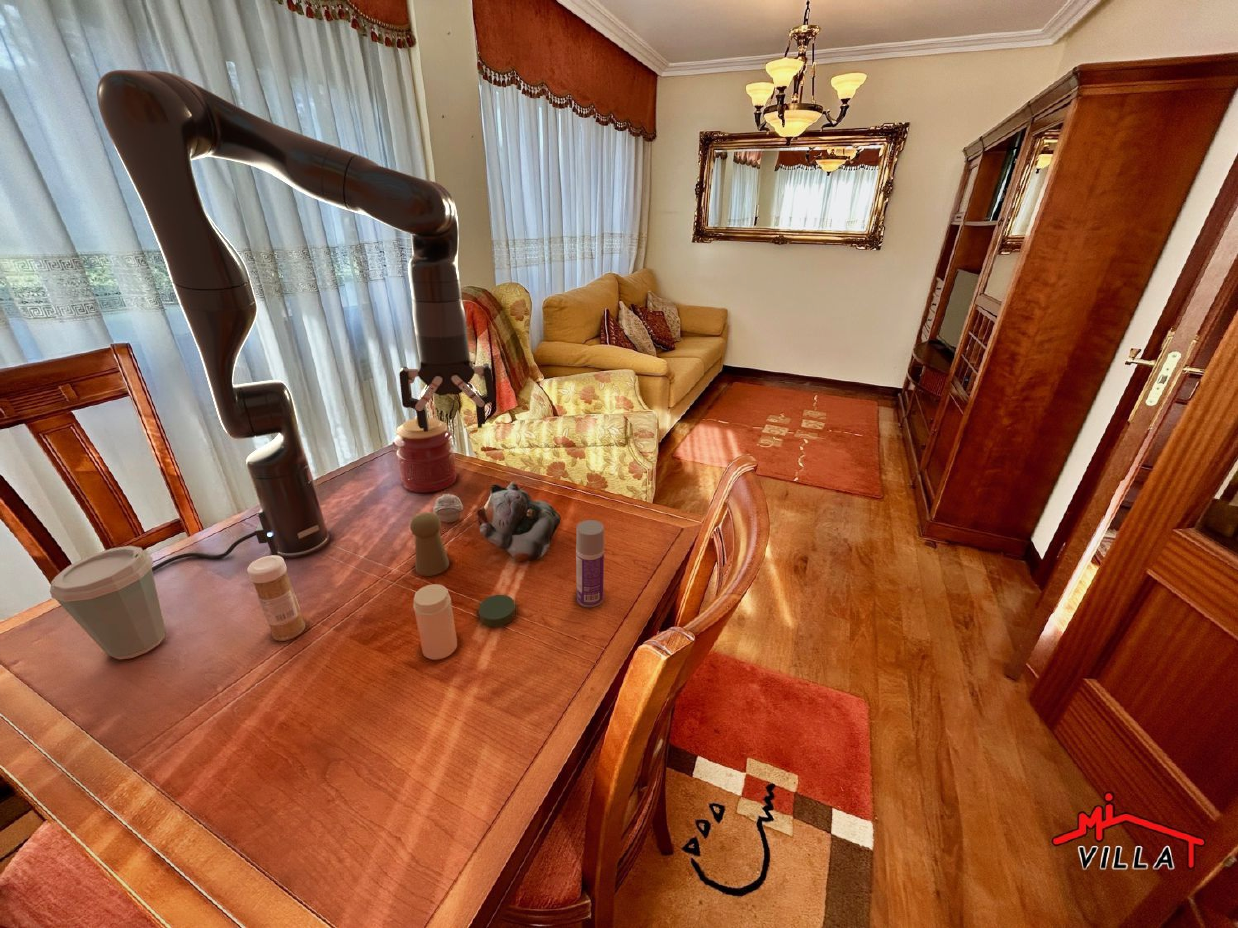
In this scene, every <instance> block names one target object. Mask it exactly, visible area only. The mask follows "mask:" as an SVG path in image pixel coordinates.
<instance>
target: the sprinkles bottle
mask: <svg viewBox="0 0 1238 928" xmlns="http://www.w3.org/2000/svg"><path fill="white" fill-rule="evenodd" d="M287 569H288V568H287V565H286V562H285V560H284V557H280V556H276V555H272V554H271V555H265V556H262V557H260V558H257V559H255V560H254V561H252V562H251V563H249V565H248V566H247V575H248V577H249V580H250V581H251V583H252V584H253V586H254V589H255V591H256V594H257V597H258V601H259V603H260V605H261V608H262V611H263V614H264V616H265V619H266V621H267V623H268V625H269V628H270V631H271V635H272V638H273V639H274V640H275V641H280V642H286V641H289V640H291V639H295V638H296V637H298V636H299V635H301V634H302V633H303V631H304V630H305V628H306V622H305V620H304V619H303V616H302V612H301V608H300V605H299V602H298V599H297V596H296V594H295V592H294V589H293V586H292V583H291V581H290V578H289V576H288V575H289V574H288V571H287Z"/></svg>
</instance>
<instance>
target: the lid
mask: <svg viewBox="0 0 1238 928" xmlns="http://www.w3.org/2000/svg"><path fill="white" fill-rule="evenodd" d="M515 602H516V601H514V599H513V598H512V597H511V596H509V595H507V594H493V595H490V596H488V597H485V598H484V599H483V600H482V601H481V602H480V604H479V605H478V618H479V621H480V622H481V623H482V624H483V625H484V626H486V627H489V628H499V627H503V626H506V625H507V624H509V623H510V622H511V621H513V619H515V616H516V614H517V611H516V603H515Z"/></svg>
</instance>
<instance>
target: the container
mask: <svg viewBox="0 0 1238 928" xmlns="http://www.w3.org/2000/svg"><path fill="white" fill-rule="evenodd" d="M575 542H576V543H575V544H576V545H575V567H576V568H575V570H576V571H575V573H576V574H575V575H576V577H575V578H576V579H575V581H576V602H577V603H578V604H579V605H580V606H582V607H583V608H584V607H585V608H595V607H598V606H599V605H601V604H602V602H603V600H604V575H605V526H604V524H603V523H602V522H601V521H599V520H594V519H587V520H582V521H580V522H578V523H577V524H576V540H575Z"/></svg>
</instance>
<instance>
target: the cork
mask: <svg viewBox="0 0 1238 928" xmlns="http://www.w3.org/2000/svg"><path fill="white" fill-rule="evenodd" d="M409 525H410V526H409V529H410V531H411V533H412V535H414V551H415V553H414V554H415V555H414V556H415V571H416V573H417V574H419V575H421V576H426V577H431V576H436V575H439V574H441V573H443V572H445V571H446V570H447V569H448V568H449V566H450V561H449V557H448V555H447V551H446V548H445V545H444V541H443V539H442V536H441V533H440V530H441V527H442V520H440V519H439V517H438V516H437V515H436V514H435V513H434V512H428V511H427V512H421V513H418V514H416V515H414V516H413V518H412V519H411V521H410V524H409Z"/></svg>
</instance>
